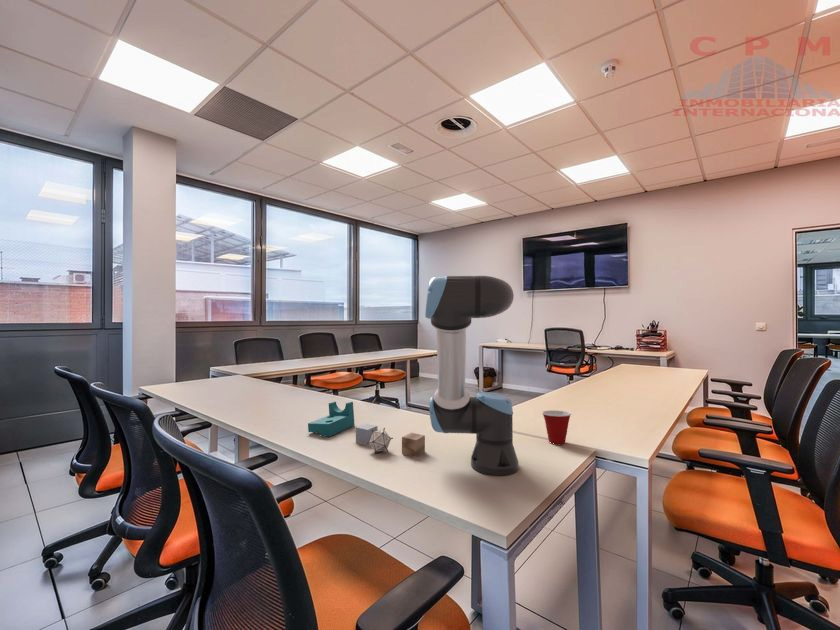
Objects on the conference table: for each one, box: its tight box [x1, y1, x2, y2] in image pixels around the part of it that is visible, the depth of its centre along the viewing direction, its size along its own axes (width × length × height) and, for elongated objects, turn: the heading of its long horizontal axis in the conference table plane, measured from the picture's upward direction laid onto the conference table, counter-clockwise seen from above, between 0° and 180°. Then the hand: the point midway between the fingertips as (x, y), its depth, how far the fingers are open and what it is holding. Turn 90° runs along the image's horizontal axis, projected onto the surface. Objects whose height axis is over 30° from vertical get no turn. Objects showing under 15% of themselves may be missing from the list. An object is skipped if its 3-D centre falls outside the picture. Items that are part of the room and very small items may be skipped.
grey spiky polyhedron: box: [367, 427, 394, 455], centre depth 131 cm, size 9×8×10 cm
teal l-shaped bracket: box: [307, 401, 355, 437], centre depth 158 cm, size 18×11×10 cm, turn 157°
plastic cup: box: [541, 409, 572, 445], centre depth 141 cm, size 11×11×12 cm
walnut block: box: [401, 432, 426, 458], centre depth 130 cm, size 6×6×6 cm
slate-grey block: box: [355, 423, 379, 446], centre depth 142 cm, size 6×6×6 cm
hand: (453, 376), depth 149 cm, fingers closed
